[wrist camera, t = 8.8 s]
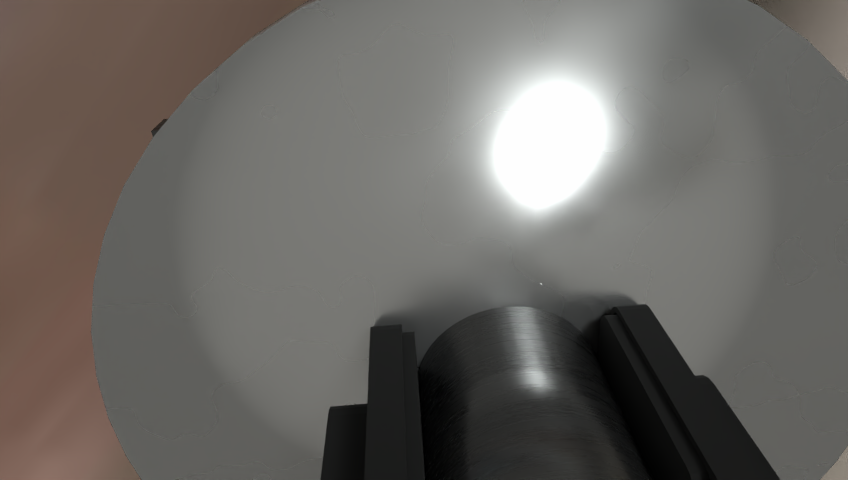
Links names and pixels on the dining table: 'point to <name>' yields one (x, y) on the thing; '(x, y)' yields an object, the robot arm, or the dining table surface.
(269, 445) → the lid
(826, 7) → the dining table surface
